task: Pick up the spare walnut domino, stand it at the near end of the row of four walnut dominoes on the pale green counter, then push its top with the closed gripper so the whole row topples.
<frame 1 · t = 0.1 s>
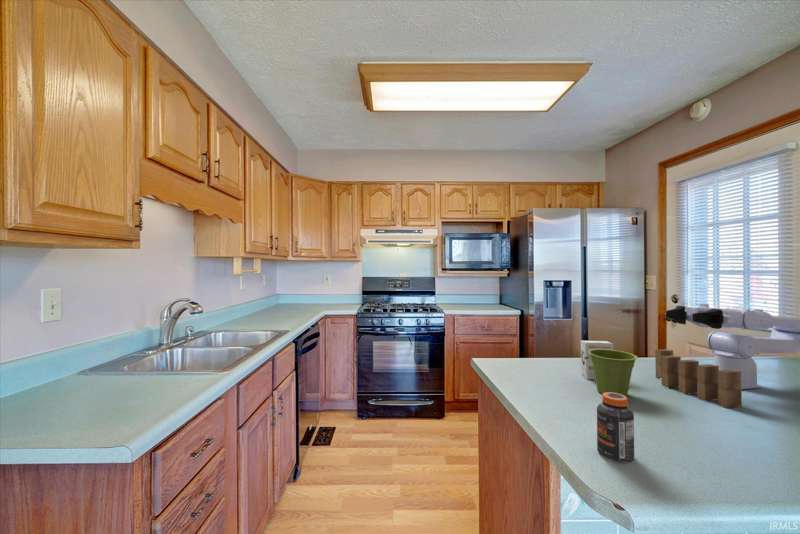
hand: (679, 315, 98), 22 cm above the countertop, tool horizontal, fingers open, 7 cm apart
domino 5: (730, 406, 86), on the countertop
domino 1: (664, 377, 109), on the countertop
domino 2: (671, 386, 100), on the countertop
ink box: (597, 378, 109), on the countertop
plant pot: (612, 394, 95), on the countertop
domino 3: (688, 392, 96), on the countertop
domino 4: (708, 398, 91), on the countertop
pill bottle: (615, 456, 63), on the countertop
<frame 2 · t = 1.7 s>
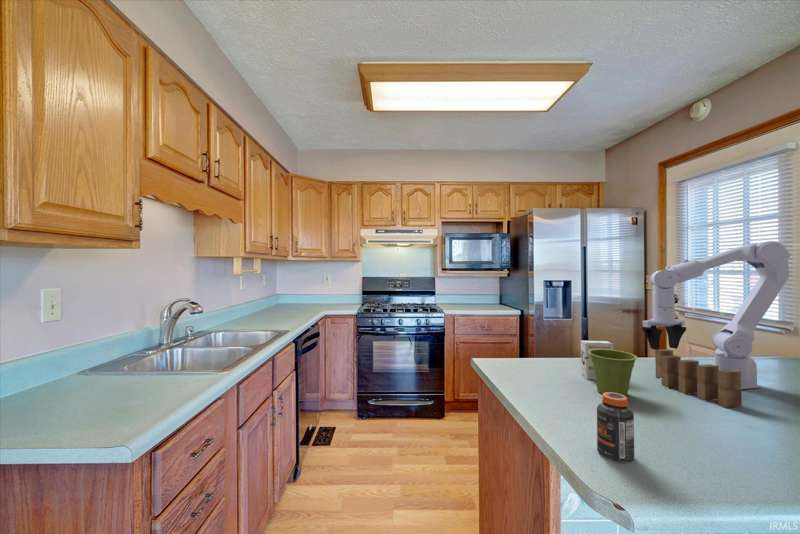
hand: (664, 348, 109), 9 cm above the countertop, tool pointing down, fingers open, 7 cm apart
nothing on the countertop moved.
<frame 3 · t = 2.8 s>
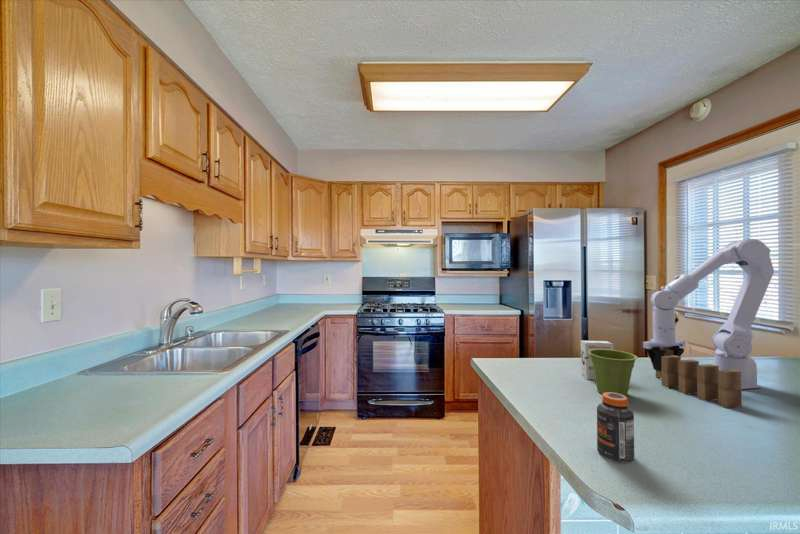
hand: (664, 369, 109), 3 cm above the countertop, tool pointing down, fingers closed on domino 1, 5 cm apart
domino 1: (664, 377, 109), on the countertop, touching gripper
everything else where it was.
when the fingers open (3 cm above the countertop, at t = 5.9 s): domino 1 stays where it is, on the countertop.
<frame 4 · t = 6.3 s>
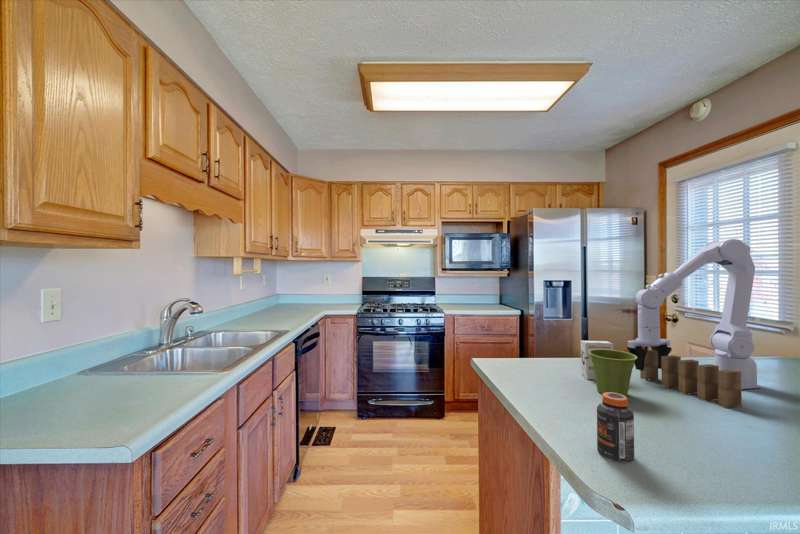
hand: (649, 369, 107), 3 cm above the countertop, tool pointing down, fingers open, 7 cm apart
domino 1: (649, 379, 107), on the countertop
everything else where it was.
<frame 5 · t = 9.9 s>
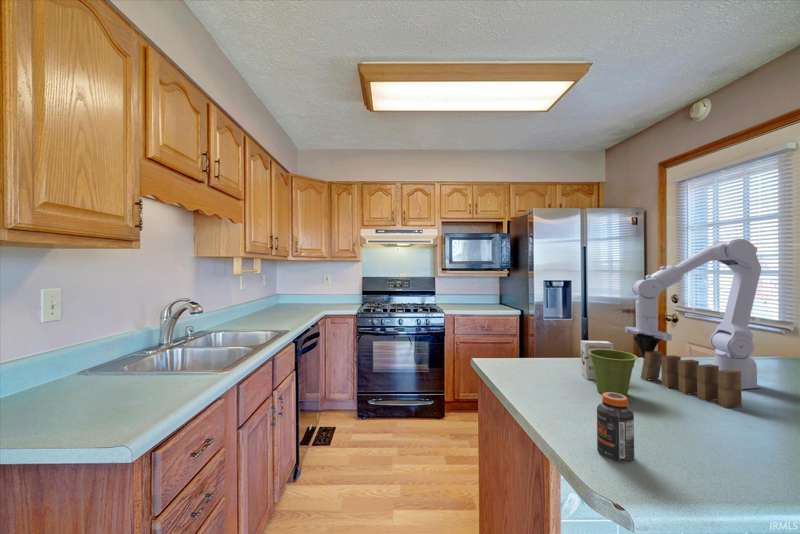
hand: (647, 358, 108), 6 cm above the countertop, tool pointing down, fingers closed
domino 1: (649, 378, 107), on the countertop, tilted 11°
everything else where it was.
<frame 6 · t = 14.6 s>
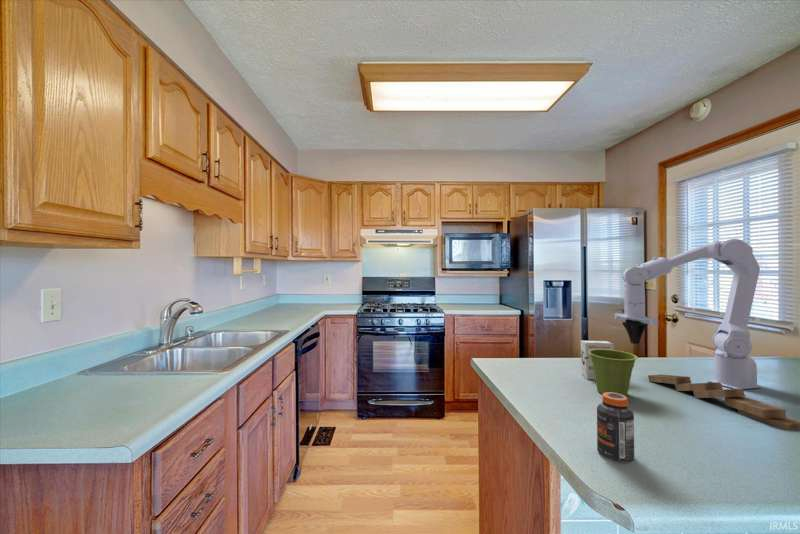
hand: (635, 343, 112), 10 cm above the countertop, tool pointing down, fingers closed
domino 5: (746, 411, 82), on the countertop, tilted 90°
domino 1: (655, 377, 106), point 1 cm above the countertop, tilted 77°, touching domino 2
domino 2: (683, 387, 97), point 1 cm above the countertop, tilted 70°, touching domino 1
domino 3: (702, 394, 92), point 1 cm above the countertop, tilted 68°
domino 4: (734, 400, 84), point 2 cm above the countertop, tilted 87°
everything else where it was.
at the end: domino 5 tilted 90°; domino 1 tilted 78° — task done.
